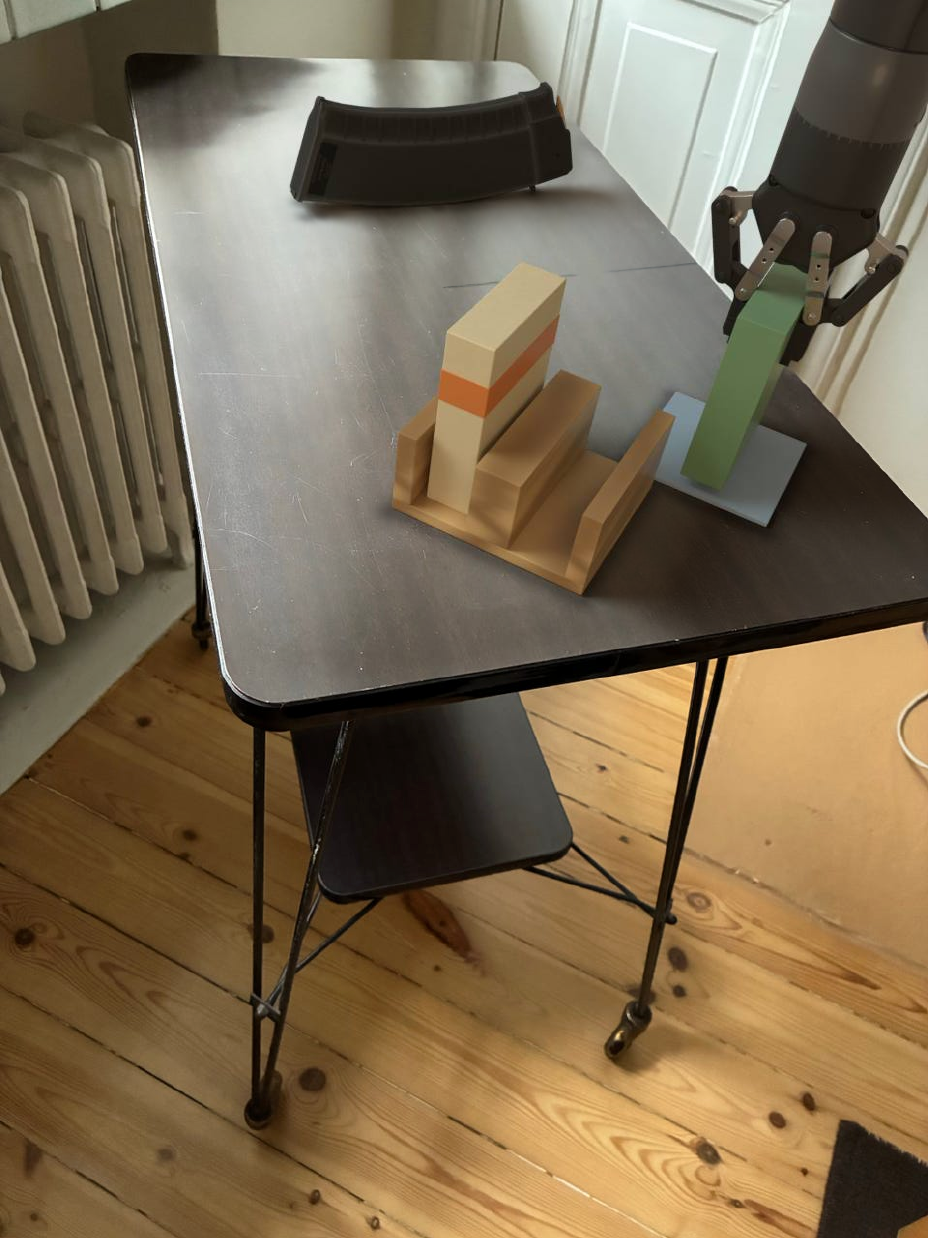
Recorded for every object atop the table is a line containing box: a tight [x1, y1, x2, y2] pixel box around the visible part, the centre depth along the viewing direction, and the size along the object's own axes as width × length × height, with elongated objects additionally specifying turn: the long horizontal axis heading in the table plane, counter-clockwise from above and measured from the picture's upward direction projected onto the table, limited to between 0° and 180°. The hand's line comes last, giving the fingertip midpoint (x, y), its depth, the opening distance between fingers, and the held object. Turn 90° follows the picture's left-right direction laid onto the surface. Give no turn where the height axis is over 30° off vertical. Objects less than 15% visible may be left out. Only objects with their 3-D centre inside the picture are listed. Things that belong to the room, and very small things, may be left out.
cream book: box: [427, 261, 568, 515], centre depth 70 cm, size 4×11×14 cm, turn 152°
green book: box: [680, 262, 808, 491], centre depth 75 cm, size 4×11×14 cm, turn 152°
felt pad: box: [654, 391, 808, 528], centre depth 81 cm, size 12×12×1 cm
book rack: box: [391, 368, 676, 596], centre depth 73 cm, size 16×14×7 cm
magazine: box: [289, 81, 574, 207], centre depth 101 cm, size 17×3×30 cm
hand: (760, 349), depth 73 cm, fingers closed on green book, 3 cm apart
